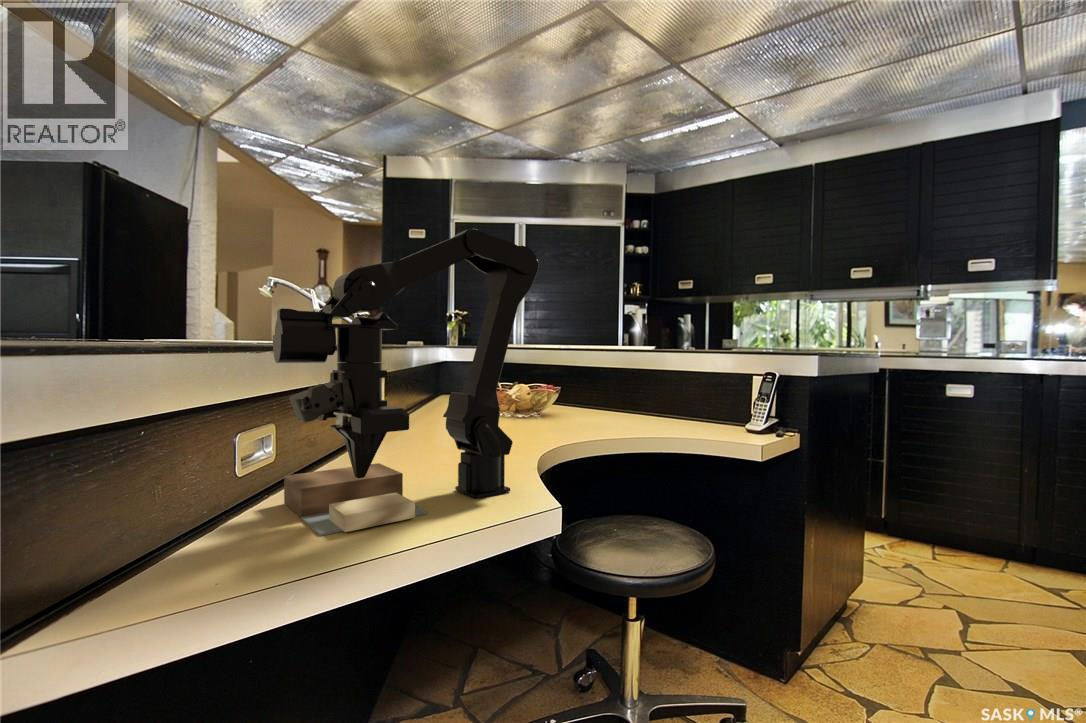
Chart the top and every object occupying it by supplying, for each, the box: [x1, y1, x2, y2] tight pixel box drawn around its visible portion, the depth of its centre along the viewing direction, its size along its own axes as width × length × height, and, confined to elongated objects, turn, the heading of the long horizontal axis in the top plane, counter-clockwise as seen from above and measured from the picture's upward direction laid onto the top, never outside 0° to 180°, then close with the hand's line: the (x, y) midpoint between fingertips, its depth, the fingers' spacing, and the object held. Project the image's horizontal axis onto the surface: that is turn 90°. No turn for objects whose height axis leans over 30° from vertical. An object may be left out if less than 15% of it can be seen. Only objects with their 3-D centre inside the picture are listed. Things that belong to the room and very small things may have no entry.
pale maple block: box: [329, 493, 416, 533], centre depth 68 cm, size 9×6×2 cm, turn 129°
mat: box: [300, 504, 428, 537], centre depth 70 cm, size 14×8×1 cm, turn 129°
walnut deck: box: [283, 462, 404, 519], centre depth 77 cm, size 14×9×4 cm, turn 129°
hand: (359, 477), depth 71 cm, fingers closed
